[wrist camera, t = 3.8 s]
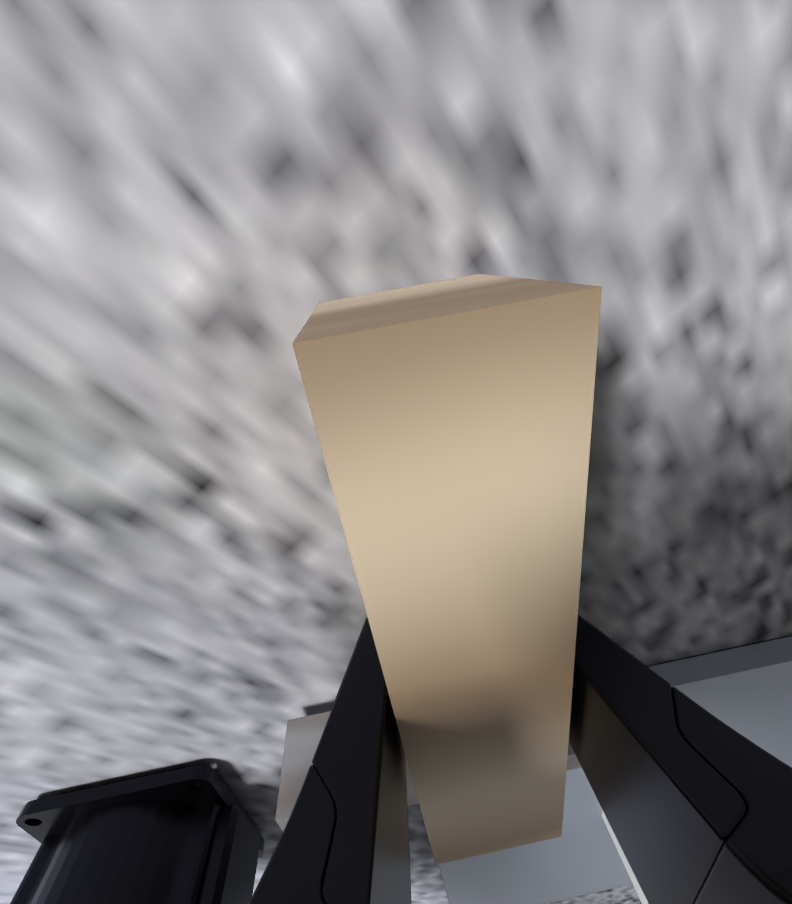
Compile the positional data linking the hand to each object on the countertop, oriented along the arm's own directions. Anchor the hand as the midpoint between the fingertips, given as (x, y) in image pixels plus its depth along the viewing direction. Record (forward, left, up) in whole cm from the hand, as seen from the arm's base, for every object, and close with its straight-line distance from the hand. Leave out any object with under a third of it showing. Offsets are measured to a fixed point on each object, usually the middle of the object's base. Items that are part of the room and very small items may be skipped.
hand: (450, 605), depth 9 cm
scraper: (0, +1, -1) cm, 2 cm away
